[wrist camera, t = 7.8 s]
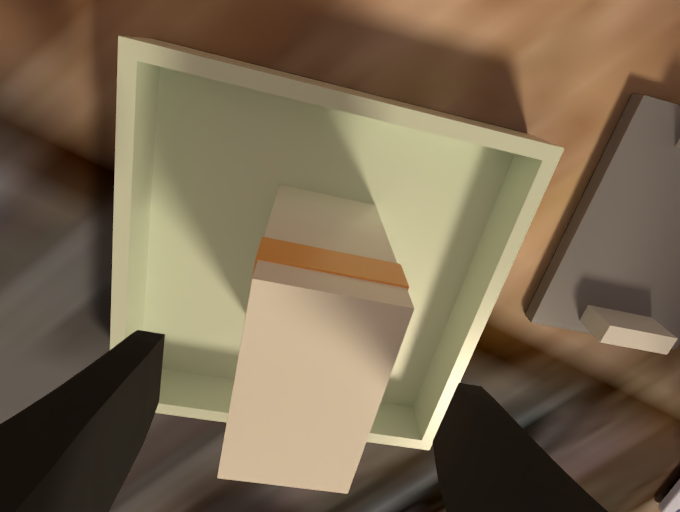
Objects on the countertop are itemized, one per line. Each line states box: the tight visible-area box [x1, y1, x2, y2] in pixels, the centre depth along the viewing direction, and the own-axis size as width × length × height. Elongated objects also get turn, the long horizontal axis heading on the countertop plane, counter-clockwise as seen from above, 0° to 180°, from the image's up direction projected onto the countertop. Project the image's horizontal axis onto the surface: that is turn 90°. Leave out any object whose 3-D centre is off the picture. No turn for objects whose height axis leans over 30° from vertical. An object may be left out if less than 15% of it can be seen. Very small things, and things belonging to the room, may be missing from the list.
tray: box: [110, 36, 564, 450], centre depth 16 cm, size 13×13×2 cm
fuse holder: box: [525, 93, 680, 355], centre depth 17 cm, size 7×9×2 cm
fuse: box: [217, 184, 414, 494], centre depth 14 cm, size 4×6×7 cm, turn 167°
